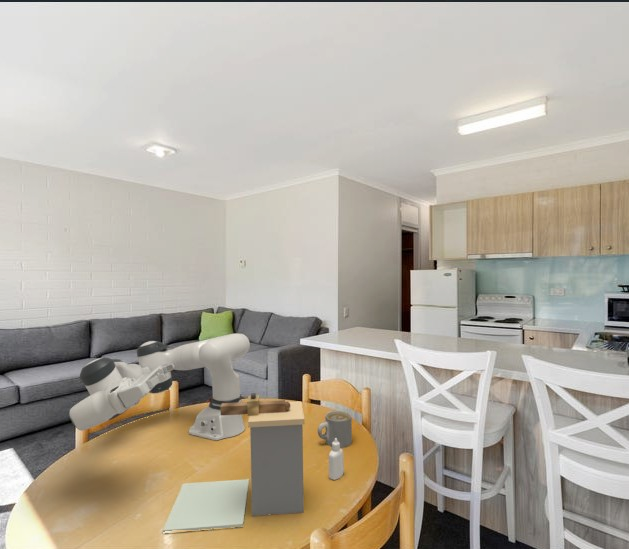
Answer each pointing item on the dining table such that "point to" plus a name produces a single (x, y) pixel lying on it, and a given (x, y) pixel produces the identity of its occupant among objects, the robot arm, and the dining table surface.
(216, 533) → the dining table surface
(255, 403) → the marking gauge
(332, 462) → the eye dropper bottle
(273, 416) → the stand
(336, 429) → the coffee mug
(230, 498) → the sage mat
